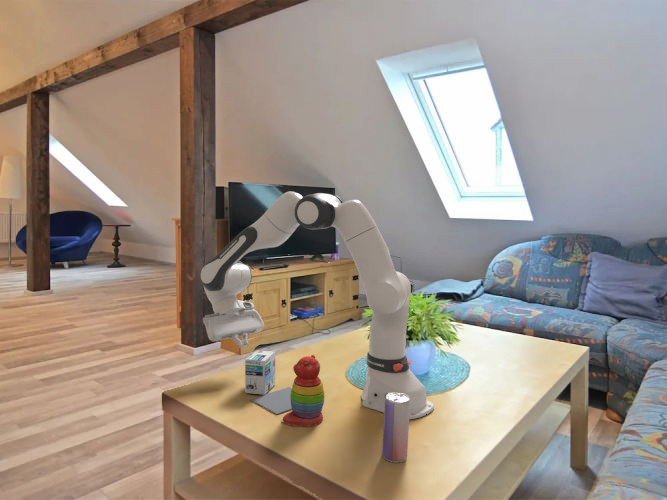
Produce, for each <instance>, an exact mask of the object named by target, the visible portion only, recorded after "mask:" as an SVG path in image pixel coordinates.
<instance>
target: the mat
mask: <svg viewBox="0 0 667 500" xmlns="http://www.w3.org/2000/svg"><path fill="white" fill-rule="evenodd" d="M291 390H292V386H291V387H290V386H287V387H284V388H281V389H278V390H275V391H271V392H267V393H266V394H265V395H262V394H261V395H258V396H255V397H252V398H250V401H251V402H253V403H254V404H256V405H257V406H260V407H262V408H264V409H266V410H267V411H268V412H271V413H272V414H274V415H276V416H278V415H281V414H285V413H287V412H291V411H292V407H291V400H290V398H291V397H290V394H291Z"/></svg>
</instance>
